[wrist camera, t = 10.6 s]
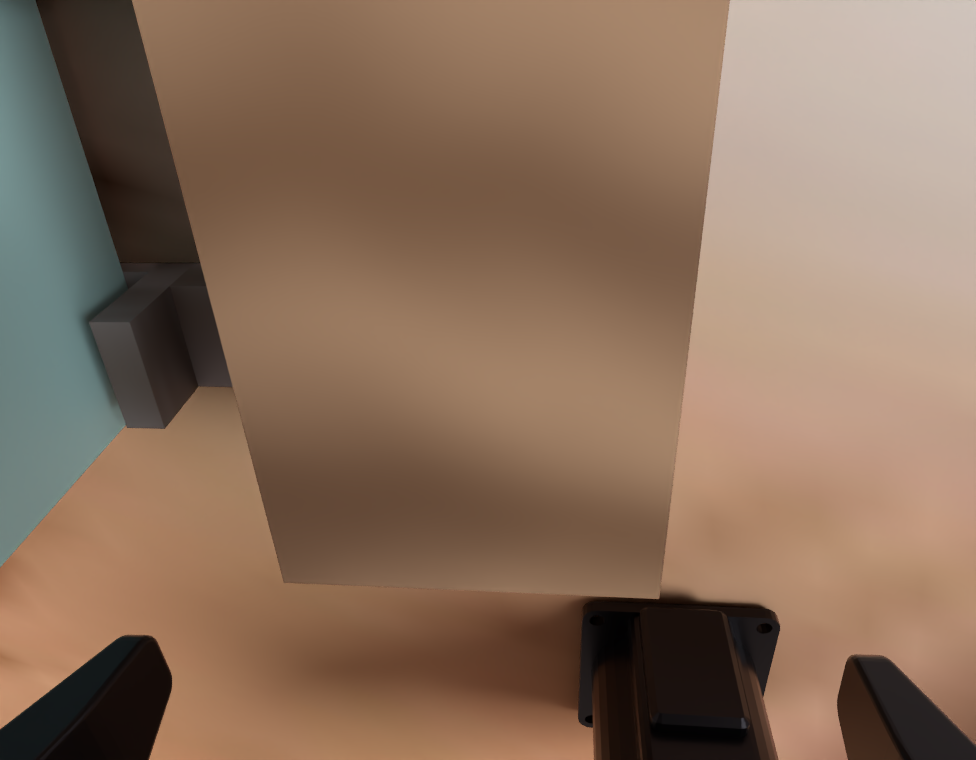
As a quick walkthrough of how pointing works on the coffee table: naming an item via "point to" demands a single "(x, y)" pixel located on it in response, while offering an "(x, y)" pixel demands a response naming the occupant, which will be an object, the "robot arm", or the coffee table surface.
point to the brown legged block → (435, 276)
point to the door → (47, 286)
